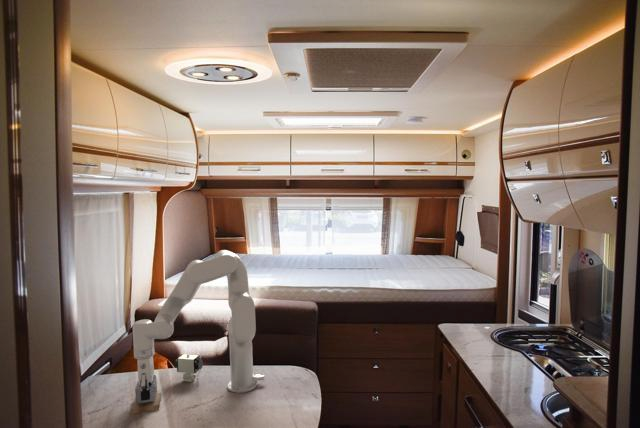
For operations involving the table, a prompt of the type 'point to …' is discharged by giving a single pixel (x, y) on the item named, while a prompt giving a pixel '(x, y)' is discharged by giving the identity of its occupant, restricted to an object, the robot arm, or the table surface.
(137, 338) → the robot arm
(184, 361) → the pneumatic valve
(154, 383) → the hollow grey cube
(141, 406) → the mallet
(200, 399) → the table surface
